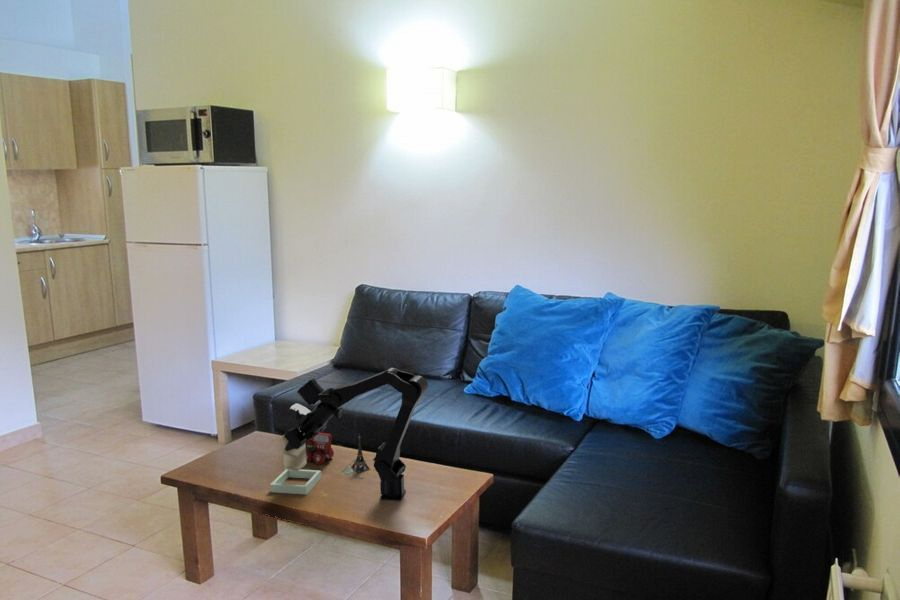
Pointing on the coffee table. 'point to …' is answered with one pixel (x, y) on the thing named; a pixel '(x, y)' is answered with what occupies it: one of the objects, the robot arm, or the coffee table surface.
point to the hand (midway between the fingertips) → (290, 446)
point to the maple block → (294, 456)
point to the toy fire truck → (319, 448)
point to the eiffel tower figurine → (359, 464)
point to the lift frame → (295, 489)
